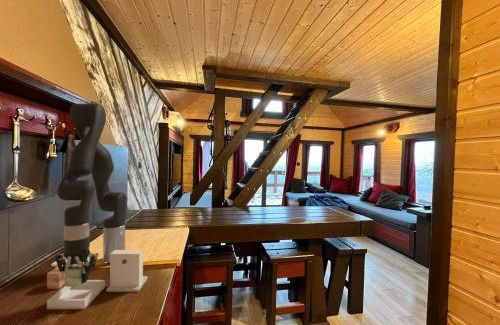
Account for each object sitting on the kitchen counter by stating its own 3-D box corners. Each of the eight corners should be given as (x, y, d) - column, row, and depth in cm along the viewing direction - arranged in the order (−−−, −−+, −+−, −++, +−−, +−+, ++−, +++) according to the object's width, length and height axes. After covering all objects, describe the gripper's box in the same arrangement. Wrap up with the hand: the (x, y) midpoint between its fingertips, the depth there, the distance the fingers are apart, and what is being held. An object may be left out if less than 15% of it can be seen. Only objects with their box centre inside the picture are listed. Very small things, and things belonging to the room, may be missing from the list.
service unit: (118, 278, 97) (118, 246, 97) (147, 278, 98) (147, 246, 97) (106, 291, 88) (106, 255, 88) (138, 291, 89) (138, 256, 88)
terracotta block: (56, 282, 94) (56, 267, 93) (67, 282, 94) (67, 267, 94) (47, 288, 89) (46, 273, 89) (59, 288, 89) (59, 273, 89)
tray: (72, 287, 90) (72, 280, 90) (105, 287, 91) (105, 280, 91) (47, 309, 78) (46, 300, 78) (84, 309, 79) (84, 300, 78)
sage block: (75, 279, 86) (75, 263, 86) (87, 279, 86) (87, 263, 86) (66, 286, 81) (66, 270, 81) (79, 286, 82) (79, 270, 81)
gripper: (103, 232, 87) (103, 276, 88) (64, 231, 86) (64, 276, 87) (91, 239, 80) (91, 288, 81) (47, 239, 79) (48, 288, 80)
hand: (77, 281), depth 84 cm, fingers closed on sage block, 4 cm apart
